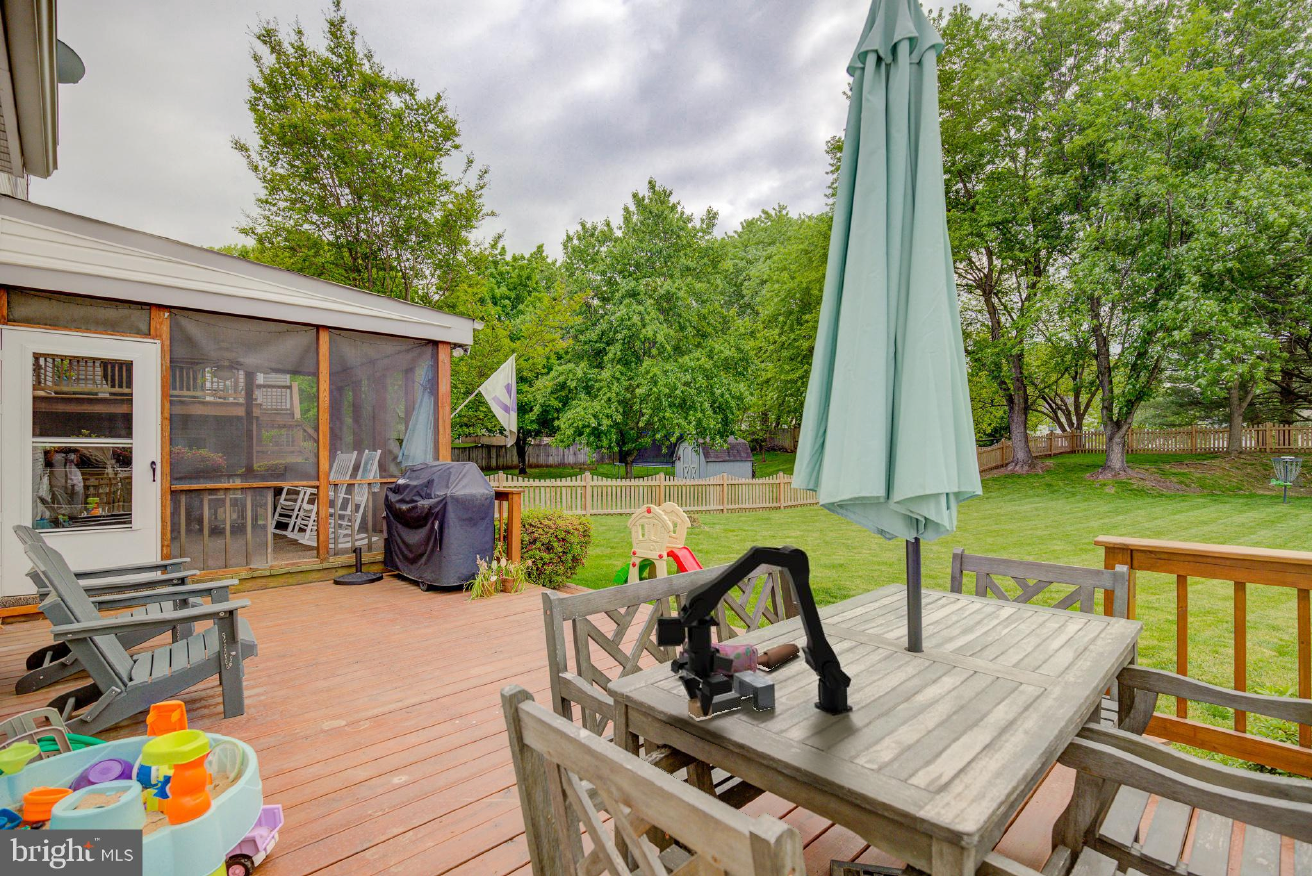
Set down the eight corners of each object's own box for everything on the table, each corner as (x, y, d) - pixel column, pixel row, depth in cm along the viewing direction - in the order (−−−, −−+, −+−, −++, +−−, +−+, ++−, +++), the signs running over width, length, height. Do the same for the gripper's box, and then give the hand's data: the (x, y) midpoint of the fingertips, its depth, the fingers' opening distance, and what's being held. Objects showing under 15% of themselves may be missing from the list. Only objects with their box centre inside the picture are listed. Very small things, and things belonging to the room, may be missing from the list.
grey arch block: (775, 707, 135) (774, 683, 135) (758, 712, 132) (758, 687, 133) (750, 693, 144) (749, 670, 144) (734, 697, 141) (733, 673, 142)
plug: (743, 709, 134) (742, 694, 134) (697, 722, 128) (696, 706, 128) (733, 703, 138) (733, 689, 138) (688, 715, 132) (688, 700, 132)
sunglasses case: (775, 649, 176) (784, 633, 174) (793, 665, 172) (802, 648, 170) (744, 665, 163) (754, 648, 161) (763, 683, 159) (773, 665, 157)
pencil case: (678, 674, 158) (677, 642, 158) (690, 663, 166) (689, 632, 167) (752, 685, 149) (751, 651, 149) (760, 673, 157) (759, 640, 158)
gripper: (751, 650, 127) (753, 720, 126) (706, 629, 144) (708, 691, 143) (710, 658, 122) (711, 731, 121) (669, 636, 138) (670, 700, 138)
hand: (701, 712), depth 131 cm, fingers closed on plug, 4 cm apart
